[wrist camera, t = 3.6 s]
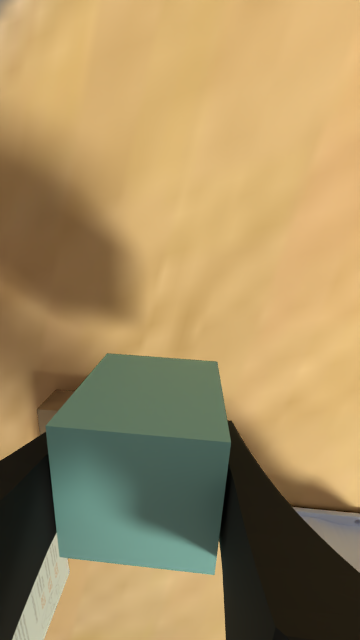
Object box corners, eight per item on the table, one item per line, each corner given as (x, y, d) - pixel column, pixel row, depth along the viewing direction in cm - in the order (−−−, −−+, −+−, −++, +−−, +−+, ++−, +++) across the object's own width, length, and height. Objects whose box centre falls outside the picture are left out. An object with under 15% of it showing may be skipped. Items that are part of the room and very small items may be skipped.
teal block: (217, 361, 12) (230, 442, 7) (208, 453, 13) (214, 574, 8) (107, 353, 12) (45, 425, 7) (109, 444, 13) (59, 557, 8)
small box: (7, 509, 25) (-122, 688, 15) (63, 514, 25) (-29, 700, 15) (19, 566, 27) (-86, 756, 17) (71, 572, 27) (-5, 768, 17)
